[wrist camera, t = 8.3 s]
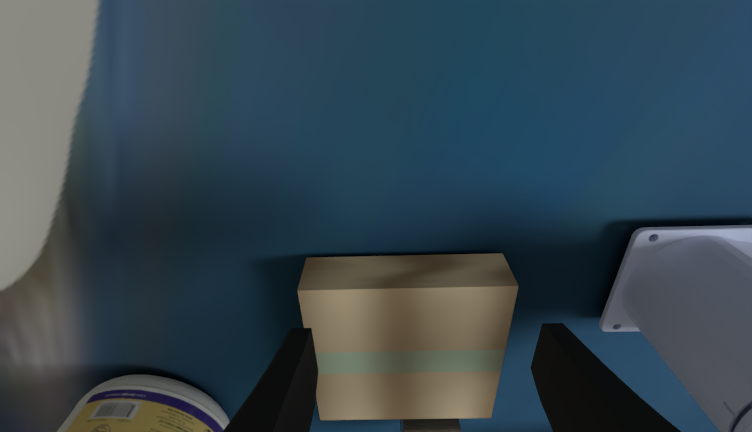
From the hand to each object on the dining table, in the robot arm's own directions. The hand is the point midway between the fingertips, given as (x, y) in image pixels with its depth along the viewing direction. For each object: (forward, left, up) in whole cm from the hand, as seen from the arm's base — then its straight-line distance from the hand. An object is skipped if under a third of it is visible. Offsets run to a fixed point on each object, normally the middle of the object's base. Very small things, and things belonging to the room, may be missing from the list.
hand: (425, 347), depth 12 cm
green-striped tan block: (0, +10, -10) cm, 14 cm away
